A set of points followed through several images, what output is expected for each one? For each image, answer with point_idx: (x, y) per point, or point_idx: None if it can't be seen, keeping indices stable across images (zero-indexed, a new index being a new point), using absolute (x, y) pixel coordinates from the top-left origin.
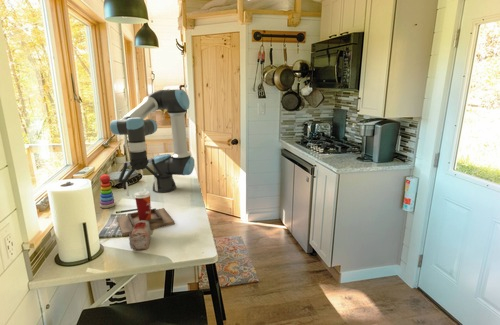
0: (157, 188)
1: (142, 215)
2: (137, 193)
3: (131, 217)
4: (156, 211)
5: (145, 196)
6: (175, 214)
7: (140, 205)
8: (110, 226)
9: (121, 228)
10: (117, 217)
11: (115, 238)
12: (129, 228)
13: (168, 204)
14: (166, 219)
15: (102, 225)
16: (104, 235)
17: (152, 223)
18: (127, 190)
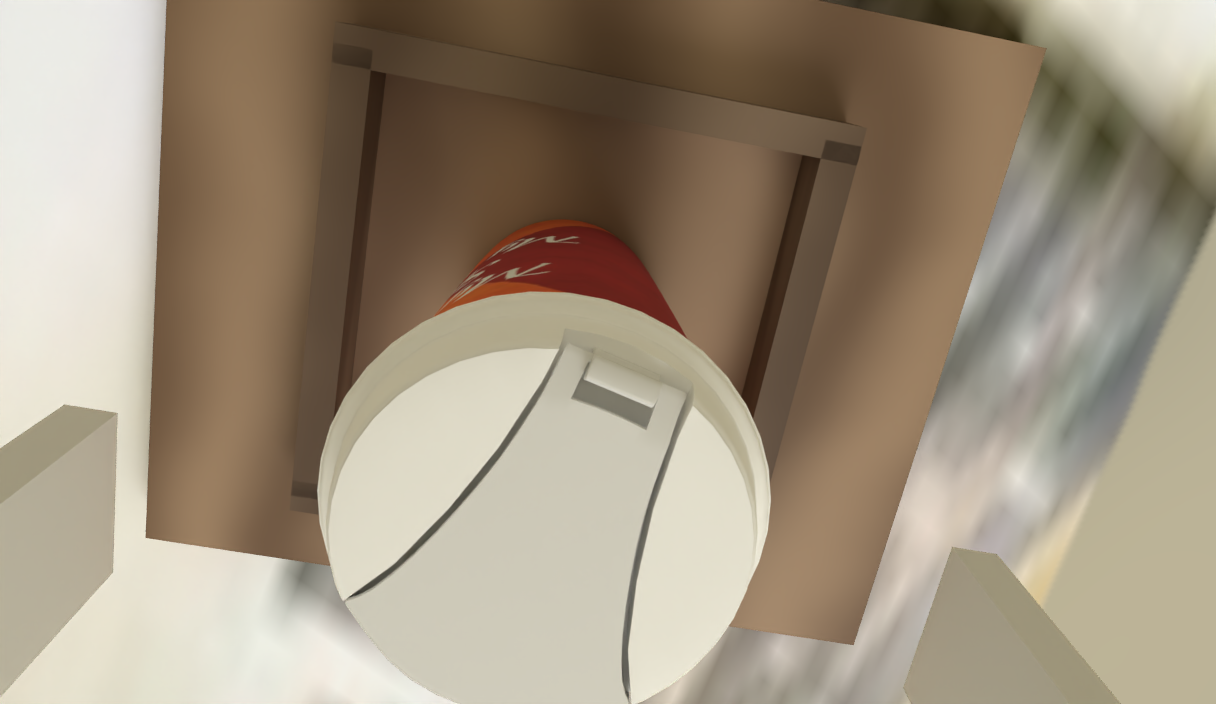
0: (17, 442)
1: (632, 259)
2: (669, 606)
3: (760, 404)
4: (326, 367)
5: (539, 318)
6: (50, 252)
7: (669, 315)
8: (991, 488)
9: (978, 229)
10: (845, 640)
11: (1128, 48)
12: (892, 141)
13: (27, 684)
14: (270, 50)
15: (1048, 584)
16: (1179, 261)
17: (532, 59)
18: (1069, 669)
